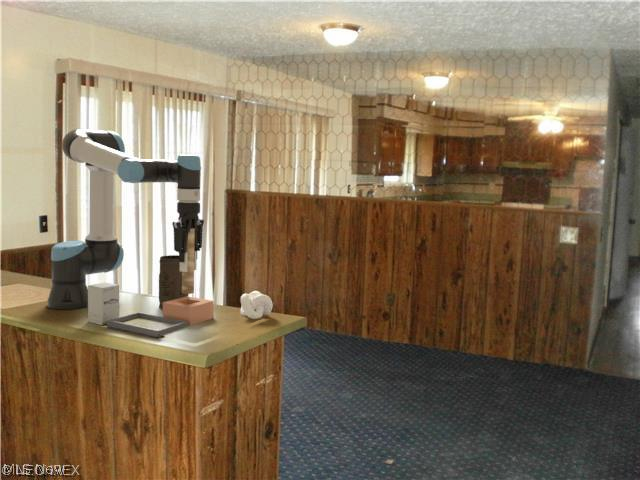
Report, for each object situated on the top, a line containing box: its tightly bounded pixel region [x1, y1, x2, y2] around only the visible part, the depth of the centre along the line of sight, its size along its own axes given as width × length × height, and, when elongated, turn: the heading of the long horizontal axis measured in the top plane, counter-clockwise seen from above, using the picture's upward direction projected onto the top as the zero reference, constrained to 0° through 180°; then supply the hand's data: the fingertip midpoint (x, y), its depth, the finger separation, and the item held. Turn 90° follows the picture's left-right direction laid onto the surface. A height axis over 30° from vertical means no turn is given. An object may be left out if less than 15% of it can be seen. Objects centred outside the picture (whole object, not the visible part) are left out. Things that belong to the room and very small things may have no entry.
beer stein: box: [158, 254, 189, 310], centre depth 235 cm, size 15×11×20 cm
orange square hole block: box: [162, 295, 215, 326], centre depth 216 cm, size 12×12×7 cm
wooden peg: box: [182, 228, 195, 295], centre depth 214 cm, size 4×4×22 cm
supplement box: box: [87, 282, 120, 326], centre depth 213 cm, size 7×7×13 cm
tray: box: [106, 311, 189, 340], centre depth 207 cm, size 22×14×2 cm, turn 61°
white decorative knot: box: [240, 290, 274, 320], centre depth 223 cm, size 11×12×9 cm
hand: (188, 270), depth 214 cm, fingers closed on wooden peg, 4 cm apart
